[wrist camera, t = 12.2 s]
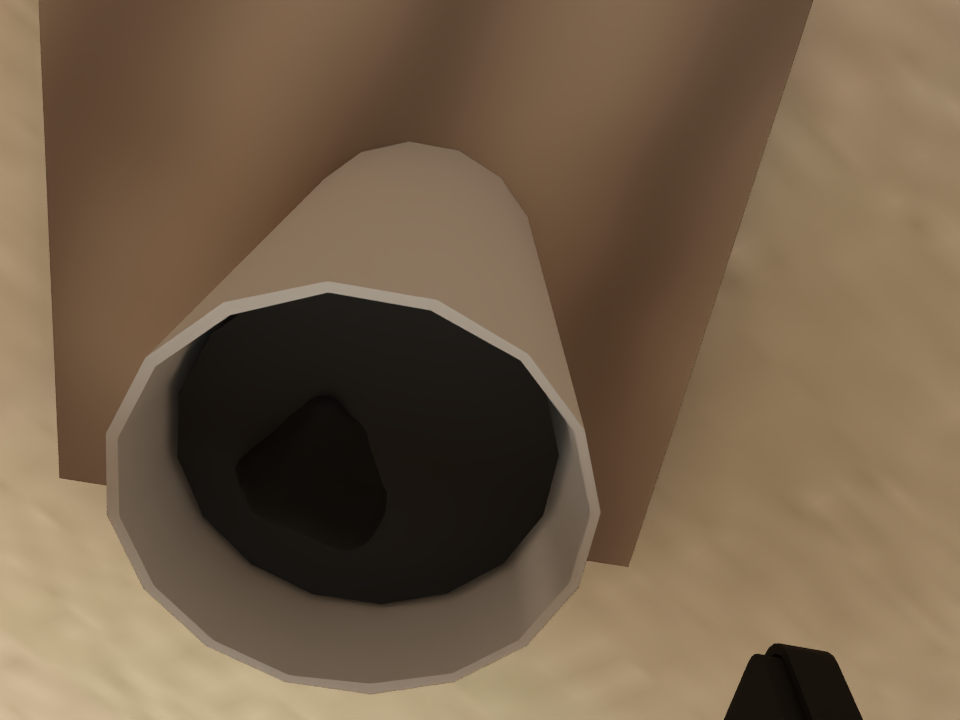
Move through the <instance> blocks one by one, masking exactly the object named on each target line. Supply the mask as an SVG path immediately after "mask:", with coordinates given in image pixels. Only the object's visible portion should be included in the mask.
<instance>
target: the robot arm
mask: <svg viewBox="0 0 960 720" xmlns="http://www.w3.org/2000/svg"><path fill="white" fill-rule="evenodd" d="M724 720H863V719H862V717H861V714H860V712H859V710H858V708H857V705H856V703H855V701H854V699H853V696H852V694H851V692H850V690H849V687H848V685H847V683H846V681H845V678H844V676H843V674H842V672H841V669H840V667H839V665H838V663H837V661H836V660H835V658H834V656H833V655H831V654H830V653H828V652H825V651H820V650H814V649H808V648H802V647H797V646H791V645H785V644H779V643H778V644H773V645H772V646H771V647H769V649H768V650H767V652H766V654H765V655H761V654H754V655H753V656H752V657H751V659H750V660H749V662H748V664H747V667H746V669H745V671H744V674H743V676H742V678H741V681H740V683H739V685H738V688H737V690H736V692H735V695H734V697H733V699H732V702H731V704H730V706H729V709H728V711H727V713H726V716H725V718H724Z"/></svg>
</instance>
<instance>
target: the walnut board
mask: <svg viewBox="0 0 960 720" xmlns="http://www.w3.org/2000/svg"><path fill="white" fill-rule="evenodd" d="M812 3H813V0H39V20H40V43H41V66H42V89H43V111H44V134H45V157H46V180H47V203H48V225H49V248H50V271H51V294H52V316H53V339H54V362H55V385H56V408H57V430H58V453H59V476H60V478H63V479H69V480H75V481H82V482H88V483H95V484H101V485H107V481H106V432H107V430H108V428H109V427H110V425H111V423H112V421H113V419H114V417H115V415H116V413H117V411H118V409H119V407H120V405H121V403H122V402H123V400H124V398H125V396H126V394H127V392H128V390H129V388H130V386H131V384H132V382H133V380H134V378H135V376H136V375H137V373H138V371H139V369H140V367H141V365H142V363H143V361H144V359H145V357H146V356H148V355H149V354H150V353H151V352H152V351H153V350H154V349H155V348H156V347H157V346H158V345H159V344H160V343H161V342H162V341H163V340H164V339H165V338H166V337H167V336H168V335H169V334H170V333H171V332H172V331H173V330H174V329H175V328H176V327H177V326H178V325H179V324H180V323H181V322H182V321H183V320H184V319H185V318H186V317H187V316H188V315H189V314H190V313H191V312H192V311H193V310H194V309H195V308H196V307H197V306H198V305H199V304H200V303H201V302H202V301H203V300H204V299H205V298H206V297H207V296H208V295H209V294H210V293H211V292H212V291H213V290H214V289H215V288H216V287H217V286H218V285H219V284H220V283H221V282H222V281H223V280H224V279H225V278H226V277H227V276H228V275H229V274H230V273H231V272H232V271H233V270H234V269H235V268H236V267H237V266H238V265H239V264H240V263H241V262H242V261H243V260H244V259H245V258H246V257H247V256H248V255H249V254H250V253H251V252H252V251H253V250H254V249H255V248H256V247H257V246H258V245H259V244H260V243H261V242H262V241H263V240H264V239H265V238H266V237H267V236H268V235H269V234H270V233H271V232H272V231H273V230H274V229H275V228H276V227H277V226H278V225H279V224H280V223H281V222H282V221H283V220H284V219H285V218H286V217H287V216H288V215H289V214H290V213H291V212H292V211H293V210H294V209H295V208H296V207H297V206H298V205H299V204H300V203H301V202H302V201H303V200H304V199H305V198H306V197H307V196H308V195H309V194H310V193H311V192H312V191H313V190H314V189H315V188H316V187H317V186H318V185H319V184H320V183H321V182H322V180H324V179H325V178H326V177H328V176H329V175H330V174H332V173H333V172H334V171H336V170H337V169H339V168H340V167H341V166H343V165H344V164H345V163H347V162H348V161H350V160H351V159H352V158H354V157H355V156H356V155H358V154H359V153H361V152H364V151H369V150H373V149H378V148H382V147H387V146H391V145H396V144H400V143H405V142H415V143H420V144H425V145H431V146H436V147H442V148H447V149H453V150H458V151H460V152H462V153H463V154H465V155H466V156H468V157H469V158H471V159H473V160H474V161H476V162H477V163H479V164H480V165H482V166H483V167H485V168H486V169H488V170H490V171H491V172H493V173H494V174H496V175H497V176H499V177H500V178H501V179H502V180H503V182H504V183H505V185H506V186H507V188H508V189H509V190H510V192H511V193H512V195H513V196H514V198H515V199H516V201H517V202H518V204H519V205H520V206H521V208H522V209H523V211H524V212H525V214H526V215H527V217H528V220H529V224H530V228H531V232H532V236H533V239H534V243H535V247H536V250H537V254H538V258H539V262H540V265H541V269H542V273H543V277H544V280H545V284H546V288H547V291H548V295H549V299H550V303H551V306H552V310H553V314H554V318H555V321H556V325H557V329H558V332H559V336H560V340H561V344H562V347H563V351H564V355H565V358H566V362H567V366H568V370H569V373H570V377H571V381H572V385H573V388H574V392H575V396H576V399H577V403H578V407H579V411H580V414H581V418H582V422H583V425H584V429H585V434H586V439H587V444H588V450H589V455H590V460H591V465H592V470H593V476H594V481H595V486H596V491H597V496H598V502H599V507H600V512H601V513H600V516H599V520H598V523H597V527H596V530H595V533H594V537H593V540H592V544H591V547H590V550H589V554H588V557H587V561H593V562H600V563H606V564H613V565H619V566H625V567H628V566H629V563H630V560H631V557H632V554H633V551H634V548H635V545H636V542H637V539H638V536H639V533H640V530H641V527H642V523H643V520H644V517H645V514H646V511H647V508H648V505H649V502H650V499H651V496H652V493H653V490H654V487H655V484H656V481H657V478H658V474H659V471H660V468H661V465H662V462H663V459H664V456H665V453H666V450H667V447H668V444H669V441H670V438H671V435H672V432H673V428H674V425H675V422H676V419H677V416H678V413H679V410H680V407H681V404H682V401H683V398H684V395H685V392H686V389H687V386H688V383H689V379H690V376H691V373H692V370H693V367H694V364H695V361H696V358H697V355H698V352H699V349H700V346H701V343H702V340H703V337H704V334H705V330H706V327H707V324H708V321H709V318H710V315H711V312H712V309H713V306H714V303H715V300H716V297H717V294H718V291H719V288H720V284H721V281H722V278H723V275H724V272H725V269H726V266H727V263H728V260H729V257H730V254H731V251H732V248H733V245H734V242H735V239H736V235H737V232H738V229H739V226H740V223H741V220H742V217H743V214H744V211H745V208H746V205H747V202H748V199H749V196H750V193H751V189H752V186H753V183H754V180H755V177H756V174H757V171H758V168H759V165H760V162H761V159H762V156H763V153H764V150H765V147H766V144H767V140H768V137H769V134H770V131H771V128H772V125H773V122H774V119H775V116H776V113H777V110H778V107H779V104H780V101H781V98H782V94H783V91H784V88H785V85H786V82H787V79H788V76H789V73H790V70H791V67H792V64H793V61H794V58H795V55H796V52H797V49H798V45H799V42H800V39H801V36H802V33H803V30H804V27H805V24H806V21H807V18H808V15H809V12H810V9H811V6H812Z"/></svg>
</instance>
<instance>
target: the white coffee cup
mask: <svg viewBox="0 0 960 720" xmlns="http://www.w3.org/2000/svg"><path fill="white" fill-rule="evenodd" d="M106 481H107V516H108V518H109V520H110V522H111V524H112V526H113V528H114V530H115V532H116V534H117V536H118V538H119V540H120V542H121V544H122V546H123V548H124V550H125V552H126V554H127V556H128V558H129V560H130V562H131V564H132V566H133V568H134V570H135V572H136V574H137V576H138V578H139V580H140V582H141V584H142V586H143V588H144V589H145V590H146V591H147V592H148V593H149V594H150V595H151V596H152V597H153V598H154V599H156V600H157V601H158V602H159V603H160V604H161V605H162V606H163V607H164V608H165V609H166V610H168V611H169V612H170V613H171V614H172V615H173V616H174V617H175V618H176V619H177V620H178V621H180V622H181V623H182V624H183V625H184V626H185V627H186V628H187V629H188V630H189V631H191V632H192V633H193V634H194V635H195V636H196V637H197V638H198V639H199V640H200V641H201V642H203V643H204V644H205V645H206V646H208V647H210V648H212V649H214V650H216V651H219V652H221V653H223V654H225V655H227V656H229V657H232V658H234V659H236V660H238V661H240V662H243V663H245V664H247V665H249V666H251V667H253V668H256V669H258V670H260V671H262V672H264V673H267V674H269V675H271V676H273V677H275V678H278V679H280V680H282V681H284V682H289V683H296V684H303V685H310V686H317V687H324V688H331V689H338V690H345V691H352V692H359V693H365V694H376V693H383V692H389V691H396V690H403V689H410V688H417V687H423V686H430V685H437V684H444V683H451V682H455V681H457V680H459V679H461V678H463V677H465V676H467V675H469V674H471V673H473V672H475V671H477V670H479V669H481V668H483V667H485V666H487V665H489V664H491V663H493V662H495V661H497V660H499V659H501V658H503V657H505V656H507V655H509V654H511V653H513V652H515V651H517V650H519V649H521V648H523V647H525V646H527V645H528V644H529V642H530V641H531V640H532V639H533V638H534V637H535V636H536V635H537V633H538V632H539V631H540V630H541V629H542V628H543V627H544V626H545V625H546V623H547V622H548V621H549V620H550V619H551V618H552V617H553V616H554V614H555V613H556V612H557V611H558V610H559V609H560V608H561V607H562V606H563V604H564V603H565V602H566V601H567V600H568V599H569V598H570V597H571V596H572V594H573V593H574V592H575V591H576V590H577V589H578V588H579V584H580V581H581V578H582V574H583V571H584V567H585V564H586V561H587V557H588V554H589V550H590V547H591V544H592V540H593V537H594V533H595V530H596V527H597V523H598V520H599V516H600V513H601V512H600V507H599V502H598V496H597V491H596V486H595V481H594V476H593V470H592V465H591V460H590V455H589V450H588V444H587V439H586V434H585V429H584V425H583V422H582V418H581V414H580V411H579V407H578V403H577V399H576V396H575V392H574V388H573V385H572V381H571V377H570V373H569V370H568V366H567V362H566V358H565V355H564V351H563V347H562V344H561V340H560V336H559V332H558V329H557V325H556V321H555V318H554V314H553V310H552V306H551V303H550V299H549V295H548V291H547V288H546V284H545V280H544V277H543V273H542V269H541V265H540V262H539V258H538V254H537V250H536V247H535V243H534V239H533V236H532V232H531V228H530V224H529V220H528V217H527V215H526V214H525V212H524V211H523V209H522V208H521V206H520V205H519V204H518V202H517V201H516V199H515V198H514V196H513V195H512V193H511V192H510V190H509V189H508V188H507V186H506V185H505V183H504V182H503V180H502V179H501V178H500V177H499V176H497V175H496V174H494V173H493V172H491V171H490V170H488V169H486V168H485V167H483V166H482V165H480V164H479V163H477V162H476V161H474V160H473V159H471V158H469V157H468V156H466V155H465V154H463V153H462V152H460V151H458V150H453V149H447V148H442V147H436V146H431V145H425V144H420V143H415V142H405V143H400V144H396V145H391V146H387V147H382V148H378V149H373V150H369V151H364V152H361V153H359V154H358V155H356V156H355V157H354V158H352V159H351V160H350V161H348V162H347V163H345V164H344V165H343V166H341V167H340V168H339V169H337V170H336V171H334V172H333V173H332V174H330V175H329V176H328V177H326V178H325V179H324V180H322V182H321V183H320V184H319V185H318V186H317V187H316V188H315V189H314V190H313V191H312V192H311V193H310V194H309V195H308V196H307V197H306V198H305V199H304V200H303V201H302V202H301V203H300V204H299V205H298V206H297V207H296V208H295V209H294V210H293V211H292V212H291V213H290V214H289V215H288V216H287V217H286V218H285V219H284V220H283V221H282V222H281V223H280V224H279V225H278V226H277V227H276V228H275V229H274V230H273V231H272V232H271V233H270V234H269V235H268V236H267V237H266V238H265V239H264V240H263V241H262V242H261V243H260V244H259V245H258V246H257V247H256V248H255V249H254V250H253V251H252V252H251V253H250V254H249V255H248V256H247V257H246V258H245V259H244V260H243V261H242V262H241V263H240V264H239V265H238V266H237V267H236V268H235V269H234V270H233V271H232V272H231V273H230V274H229V275H228V276H227V277H226V278H225V279H224V280H223V281H222V282H221V283H220V284H219V285H218V286H217V287H216V288H215V289H214V290H213V291H212V292H211V293H210V294H209V295H208V296H207V297H206V298H205V299H204V300H203V301H202V302H201V303H200V304H199V305H198V306H197V307H196V308H195V309H194V310H193V311H192V312H191V313H190V314H189V315H188V316H187V317H186V318H185V319H184V320H183V321H182V322H181V323H180V324H179V325H178V326H177V327H176V328H175V329H174V330H173V331H172V332H171V333H170V334H169V335H168V336H167V337H166V338H165V339H164V340H163V341H162V342H161V343H160V344H159V345H158V346H157V347H156V348H155V349H154V350H153V351H152V352H151V353H150V354H149V355H148V356H146V357H145V359H144V361H143V363H142V365H141V367H140V369H139V371H138V373H137V375H136V376H135V378H134V380H133V382H132V384H131V386H130V388H129V390H128V392H127V394H126V396H125V398H124V400H123V402H122V403H121V405H120V407H119V409H118V411H117V413H116V415H115V417H114V419H113V421H112V423H111V425H110V427H109V428H108V430H107V432H106Z"/></svg>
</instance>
